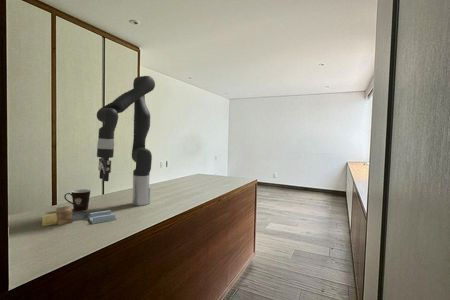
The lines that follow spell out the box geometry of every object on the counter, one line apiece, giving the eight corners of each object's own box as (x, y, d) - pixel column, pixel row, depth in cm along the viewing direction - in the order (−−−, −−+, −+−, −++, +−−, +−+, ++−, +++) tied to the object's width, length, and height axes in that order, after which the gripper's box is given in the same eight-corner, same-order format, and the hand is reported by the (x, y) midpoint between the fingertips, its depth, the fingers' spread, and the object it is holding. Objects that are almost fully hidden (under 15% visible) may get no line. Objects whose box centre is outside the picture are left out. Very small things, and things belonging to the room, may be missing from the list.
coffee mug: (93, 208, 130) (94, 190, 130) (80, 212, 122) (80, 193, 121) (76, 205, 133) (77, 188, 133) (62, 210, 125) (62, 191, 125)
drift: (86, 217, 117) (86, 211, 117) (88, 218, 114) (88, 212, 114) (64, 220, 110) (64, 214, 110) (66, 222, 108) (66, 216, 108)
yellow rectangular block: (63, 220, 111) (63, 211, 111) (65, 222, 108) (65, 214, 108) (42, 223, 106) (42, 214, 105) (42, 226, 103) (43, 217, 102)
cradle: (110, 215, 121) (111, 209, 120) (116, 219, 114) (116, 214, 114) (88, 218, 114) (88, 213, 114) (92, 223, 108) (92, 218, 108)
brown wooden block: (69, 217, 114) (69, 206, 114) (71, 222, 108) (72, 210, 107) (56, 219, 111) (56, 207, 111) (58, 225, 104) (58, 212, 104)
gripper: (117, 149, 118) (115, 181, 118) (109, 147, 129) (108, 177, 129) (100, 148, 113) (98, 182, 113) (94, 146, 124) (92, 178, 124)
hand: (103, 179), depth 121 cm, fingers open, 8 cm apart
